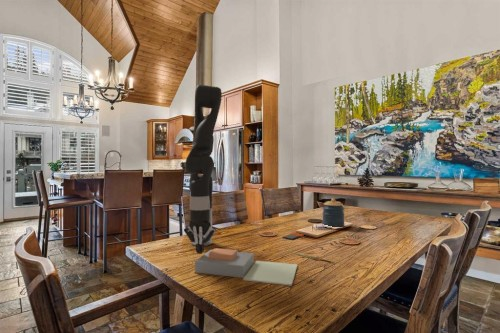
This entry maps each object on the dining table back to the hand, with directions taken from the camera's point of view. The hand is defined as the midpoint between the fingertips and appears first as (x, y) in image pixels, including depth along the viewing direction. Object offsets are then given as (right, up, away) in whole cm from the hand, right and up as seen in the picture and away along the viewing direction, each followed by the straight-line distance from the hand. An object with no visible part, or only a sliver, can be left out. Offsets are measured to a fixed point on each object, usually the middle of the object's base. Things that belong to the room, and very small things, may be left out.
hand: (200, 253), depth 106 cm
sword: (+42, -5, +11) cm, 44 cm away
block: (+9, -1, -2) cm, 9 cm away
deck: (+10, -5, -3) cm, 11 cm away
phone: (+43, -5, +42) cm, 60 cm away
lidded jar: (+70, -4, +64) cm, 95 cm away
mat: (+27, -5, -7) cm, 28 cm away
